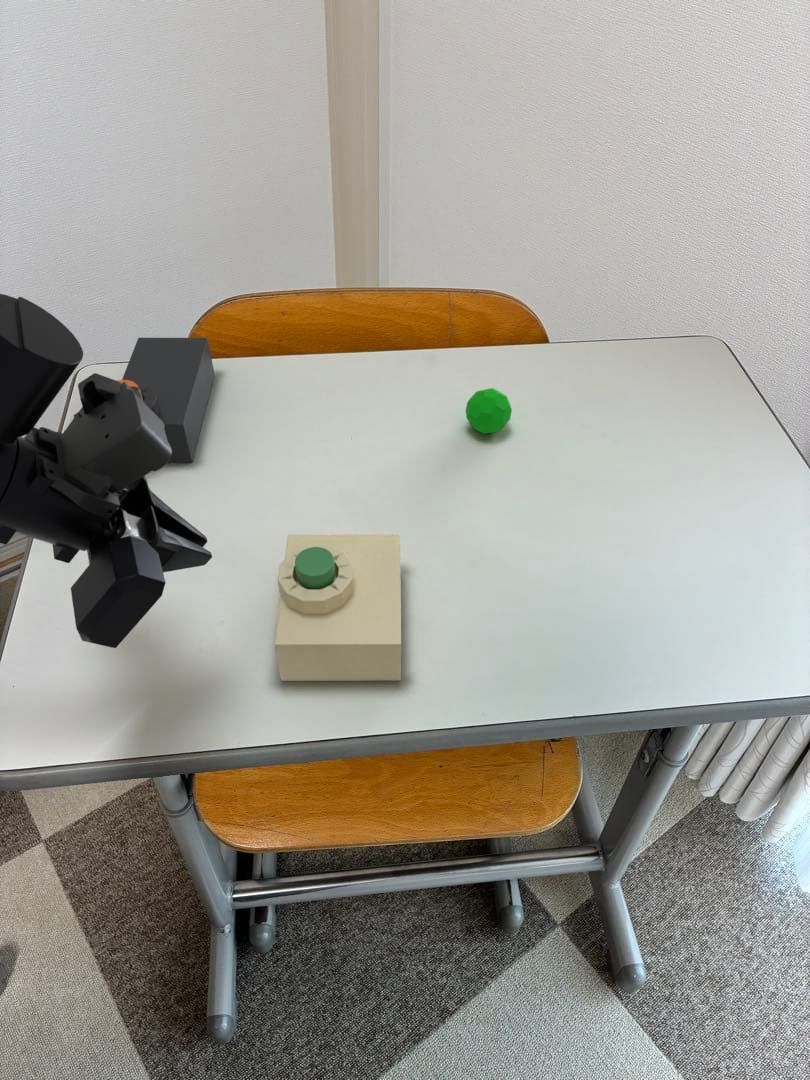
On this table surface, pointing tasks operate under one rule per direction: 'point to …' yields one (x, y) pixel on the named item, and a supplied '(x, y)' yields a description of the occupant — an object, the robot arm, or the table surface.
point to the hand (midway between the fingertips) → (206, 551)
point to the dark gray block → (174, 387)
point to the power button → (315, 568)
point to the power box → (342, 612)
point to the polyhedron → (488, 410)
